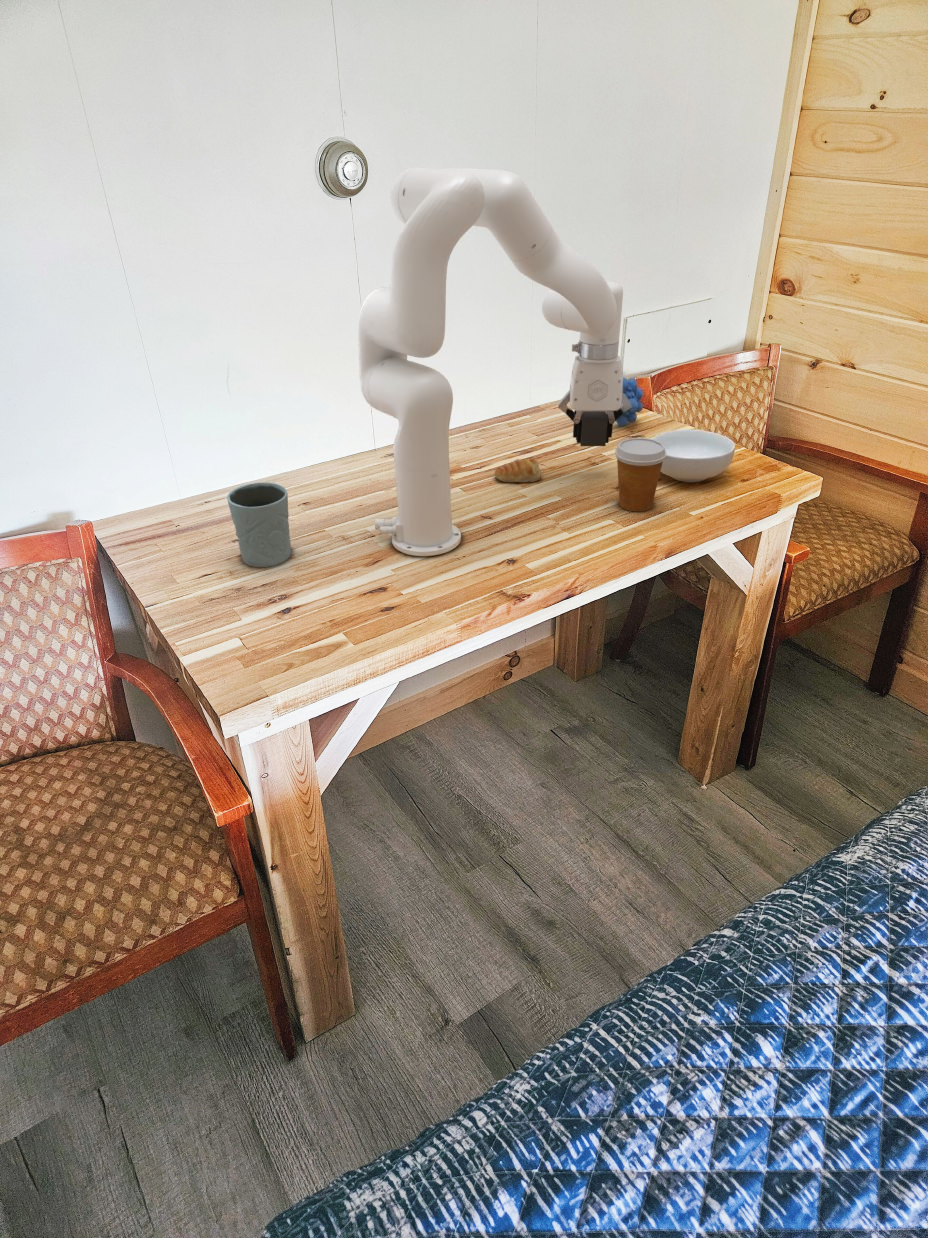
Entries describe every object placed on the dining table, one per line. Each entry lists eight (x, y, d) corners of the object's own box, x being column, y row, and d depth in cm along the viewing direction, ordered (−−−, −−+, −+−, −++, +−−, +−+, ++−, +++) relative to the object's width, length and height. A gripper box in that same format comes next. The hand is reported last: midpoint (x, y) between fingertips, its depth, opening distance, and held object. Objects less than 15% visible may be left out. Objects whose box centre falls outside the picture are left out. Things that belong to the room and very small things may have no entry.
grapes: (616, 436, 190) (620, 385, 184) (597, 428, 195) (600, 378, 189) (653, 426, 196) (658, 375, 189) (633, 418, 200) (637, 369, 194)
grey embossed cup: (247, 542, 150) (235, 482, 144) (302, 542, 150) (292, 481, 144) (232, 570, 142) (219, 506, 135) (290, 569, 142) (280, 506, 135)
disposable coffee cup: (664, 514, 155) (671, 455, 149) (614, 515, 156) (619, 456, 149) (655, 493, 163) (662, 436, 157) (607, 494, 164) (612, 437, 157)
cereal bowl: (701, 455, 180) (706, 423, 176) (746, 483, 166) (752, 450, 162) (632, 466, 175) (635, 434, 172) (672, 496, 162) (676, 463, 158)
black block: (580, 446, 166) (582, 417, 163) (578, 437, 170) (580, 409, 167) (605, 446, 166) (607, 417, 163) (602, 437, 170) (604, 409, 167)
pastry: (499, 486, 169) (499, 468, 166) (491, 474, 174) (490, 457, 172) (542, 481, 170) (543, 463, 168) (533, 469, 176) (533, 452, 174)
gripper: (555, 355, 155) (551, 447, 165) (646, 355, 155) (636, 447, 165) (553, 345, 162) (549, 434, 171) (639, 345, 161) (630, 434, 171)
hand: (592, 439), depth 168 cm, fingers closed on black block, 5 cm apart
